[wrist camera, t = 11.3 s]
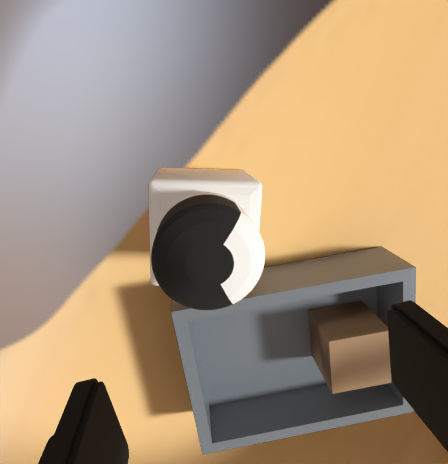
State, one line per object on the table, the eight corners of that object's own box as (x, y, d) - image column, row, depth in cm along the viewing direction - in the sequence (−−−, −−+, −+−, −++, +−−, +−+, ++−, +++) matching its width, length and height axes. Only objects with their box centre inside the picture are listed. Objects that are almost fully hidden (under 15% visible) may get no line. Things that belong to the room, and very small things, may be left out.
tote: (381, 246, 32) (415, 267, 27) (384, 374, 36) (414, 411, 31) (173, 283, 31) (171, 312, 26) (200, 410, 35) (202, 454, 30)
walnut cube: (308, 309, 32) (329, 341, 27) (361, 300, 32) (391, 330, 27) (311, 356, 33) (332, 394, 29) (362, 346, 34) (391, 382, 29)
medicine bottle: (159, 251, 30) (140, 327, 18) (157, 167, 28) (135, 193, 16) (241, 251, 31) (273, 325, 19) (246, 169, 29) (283, 196, 17)
